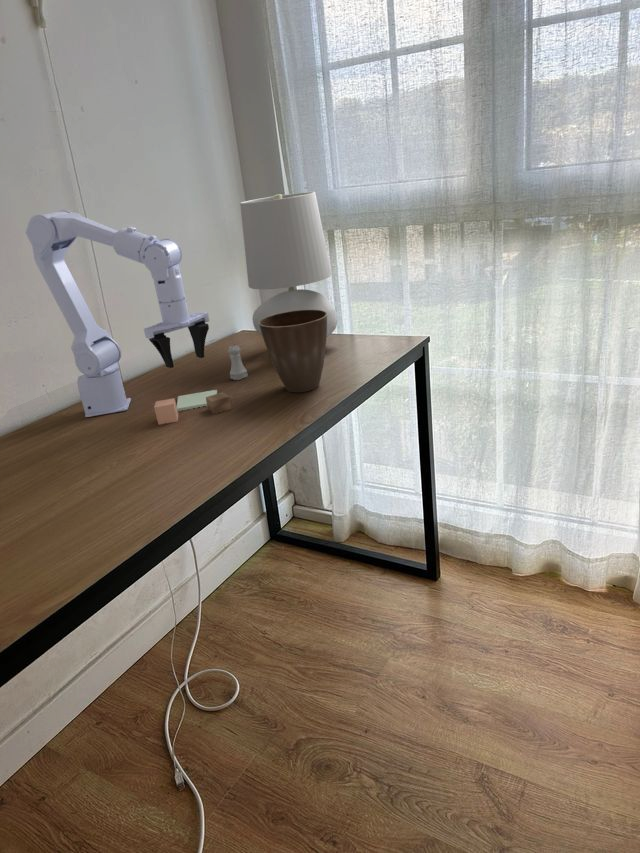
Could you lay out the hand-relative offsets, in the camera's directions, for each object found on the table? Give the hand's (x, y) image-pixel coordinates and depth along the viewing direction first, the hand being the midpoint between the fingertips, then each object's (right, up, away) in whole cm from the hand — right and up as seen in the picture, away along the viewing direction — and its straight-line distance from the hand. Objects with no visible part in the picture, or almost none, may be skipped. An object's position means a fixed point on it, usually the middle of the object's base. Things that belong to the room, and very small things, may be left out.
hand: (185, 362), depth 145 cm
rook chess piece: (+9, -2, +20) cm, 22 cm away
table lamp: (+23, +6, +35) cm, 43 cm away
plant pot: (+25, -5, +6) cm, 27 cm away
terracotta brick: (-3, -13, -2) cm, 13 cm away
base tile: (+1, -9, +7) cm, 11 cm away
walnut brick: (+7, -10, 0) cm, 13 cm away
